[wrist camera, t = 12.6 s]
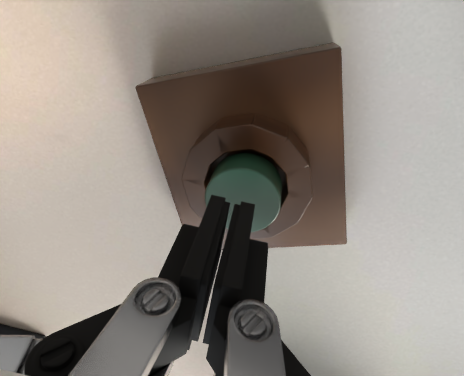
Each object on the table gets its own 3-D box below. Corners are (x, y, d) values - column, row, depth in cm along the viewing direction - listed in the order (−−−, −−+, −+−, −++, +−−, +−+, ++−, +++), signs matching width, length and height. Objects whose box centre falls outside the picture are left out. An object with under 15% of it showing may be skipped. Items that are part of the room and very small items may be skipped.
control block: (150, 78, 17) (117, 94, 14) (335, 42, 15) (348, 51, 12) (198, 231, 23) (182, 271, 19) (341, 222, 20) (352, 266, 17)
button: (205, 156, 15) (195, 172, 14) (276, 147, 14) (275, 163, 13) (220, 215, 17) (213, 235, 16) (285, 210, 16) (285, 231, 15)
